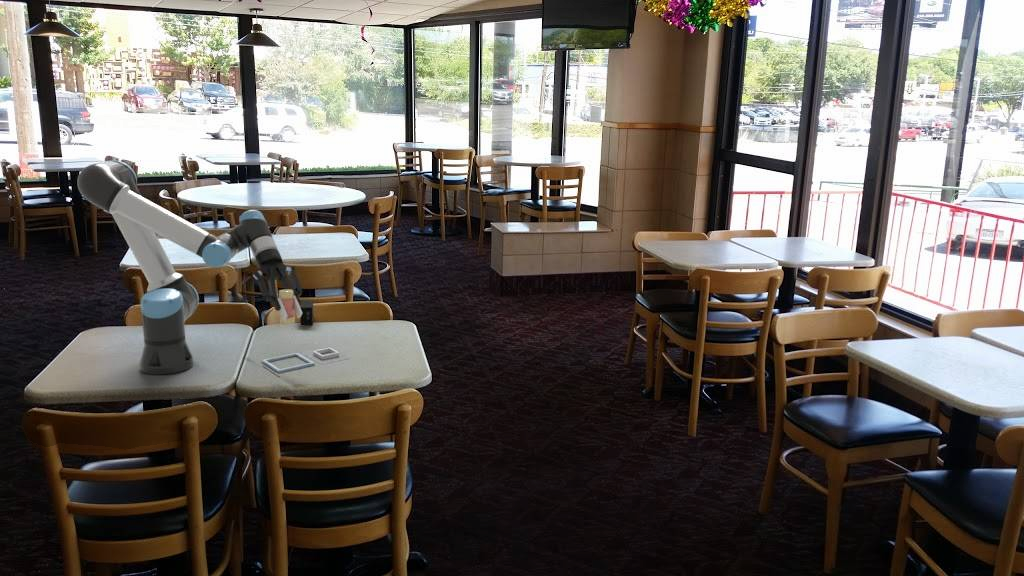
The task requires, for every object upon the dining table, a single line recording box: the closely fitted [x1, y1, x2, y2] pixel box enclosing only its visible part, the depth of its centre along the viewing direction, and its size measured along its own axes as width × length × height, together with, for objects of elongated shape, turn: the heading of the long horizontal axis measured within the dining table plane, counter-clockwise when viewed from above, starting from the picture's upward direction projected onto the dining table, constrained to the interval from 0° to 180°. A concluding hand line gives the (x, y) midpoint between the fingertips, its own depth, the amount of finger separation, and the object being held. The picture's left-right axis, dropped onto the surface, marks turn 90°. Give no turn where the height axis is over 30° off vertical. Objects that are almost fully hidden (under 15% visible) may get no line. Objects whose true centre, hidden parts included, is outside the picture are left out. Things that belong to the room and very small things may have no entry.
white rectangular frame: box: [301, 346, 351, 365], centre depth 254 cm, size 10×14×3 cm
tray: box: [261, 352, 315, 378], centre depth 246 cm, size 12×12×2 cm
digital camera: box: [296, 299, 315, 326], centre depth 294 cm, size 10×5×7 cm, turn 12°
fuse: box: [278, 288, 296, 325], centre depth 241 cm, size 4×4×10 cm
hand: (292, 316), depth 239 cm, fingers closed on fuse, 4 cm apart
